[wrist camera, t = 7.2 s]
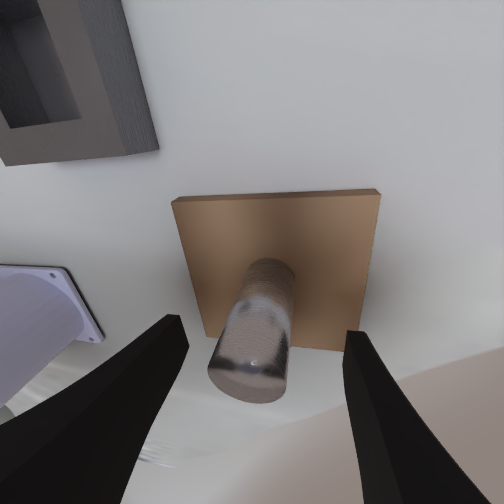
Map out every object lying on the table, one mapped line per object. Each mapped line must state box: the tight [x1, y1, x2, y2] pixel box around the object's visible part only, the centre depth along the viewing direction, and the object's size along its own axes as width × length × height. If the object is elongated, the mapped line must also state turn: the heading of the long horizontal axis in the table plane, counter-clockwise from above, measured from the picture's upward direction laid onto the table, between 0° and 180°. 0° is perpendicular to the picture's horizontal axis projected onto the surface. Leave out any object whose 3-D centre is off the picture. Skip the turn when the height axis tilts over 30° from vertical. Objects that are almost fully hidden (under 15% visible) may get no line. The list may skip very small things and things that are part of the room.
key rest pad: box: [171, 189, 381, 352], centre depth 14 cm, size 10×10×1 cm
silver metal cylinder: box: [208, 258, 295, 403], centre depth 11 cm, size 3×3×6 cm
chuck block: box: [0, 0, 159, 166], centre depth 10 cm, size 7×7×2 cm
